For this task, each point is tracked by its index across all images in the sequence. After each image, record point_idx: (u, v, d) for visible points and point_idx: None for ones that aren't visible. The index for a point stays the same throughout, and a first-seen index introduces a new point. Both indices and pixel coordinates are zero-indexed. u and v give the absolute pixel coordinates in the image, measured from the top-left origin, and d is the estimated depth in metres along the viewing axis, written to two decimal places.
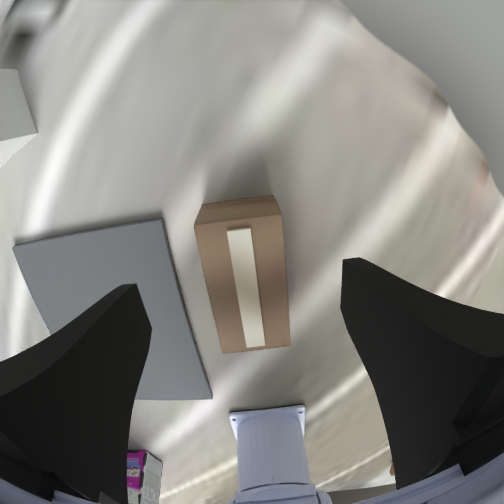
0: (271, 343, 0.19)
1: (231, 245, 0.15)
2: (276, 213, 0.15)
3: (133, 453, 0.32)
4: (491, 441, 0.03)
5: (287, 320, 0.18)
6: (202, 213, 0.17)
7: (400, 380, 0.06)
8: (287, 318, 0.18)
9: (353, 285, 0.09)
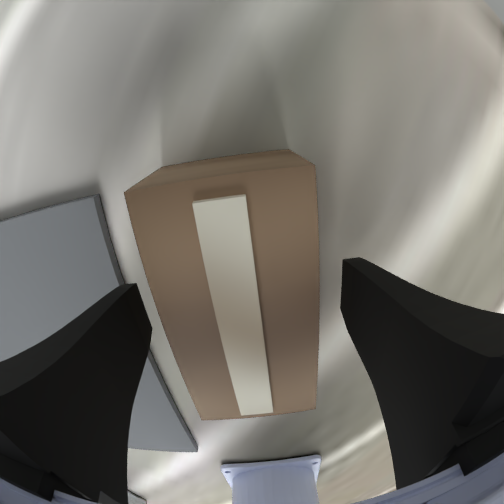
0: (284, 408, 0.10)
1: (204, 235, 0.07)
2: (302, 165, 0.07)
3: None
4: (491, 441, 0.03)
5: (314, 374, 0.09)
6: (153, 175, 0.08)
7: (400, 380, 0.06)
8: (314, 371, 0.09)
9: (353, 285, 0.09)
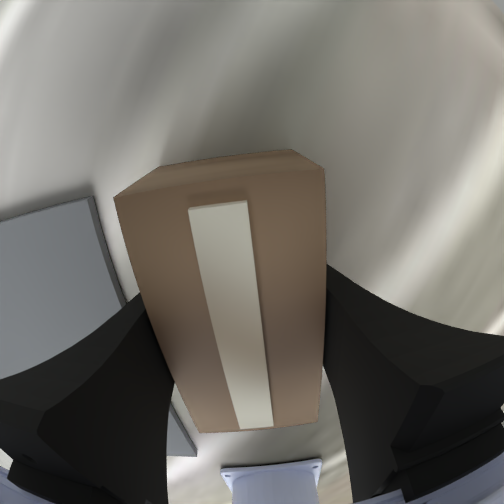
0: (285, 421, 0.10)
1: (201, 244, 0.06)
2: (310, 168, 0.06)
3: None
4: (438, 469, 0.03)
5: (317, 388, 0.09)
6: (147, 178, 0.08)
7: (351, 392, 0.06)
8: (317, 386, 0.09)
9: None
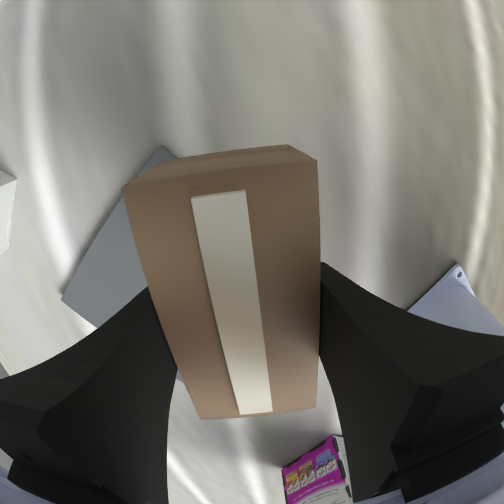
0: (284, 406, 0.10)
1: (203, 231, 0.07)
2: (303, 159, 0.07)
3: (321, 446, 0.29)
4: (438, 469, 0.03)
5: (314, 373, 0.09)
6: (151, 171, 0.08)
7: (351, 392, 0.06)
8: (314, 370, 0.09)
9: None
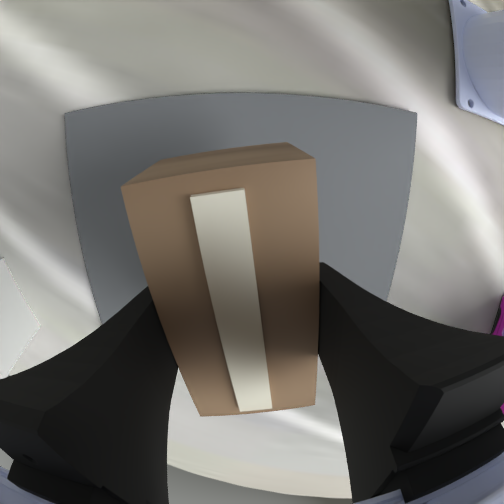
0: (283, 404, 0.10)
1: (202, 229, 0.07)
2: (302, 157, 0.07)
3: (500, 317, 0.19)
4: (438, 469, 0.03)
5: (313, 370, 0.09)
6: (151, 169, 0.08)
7: (351, 393, 0.06)
8: (314, 367, 0.09)
9: None
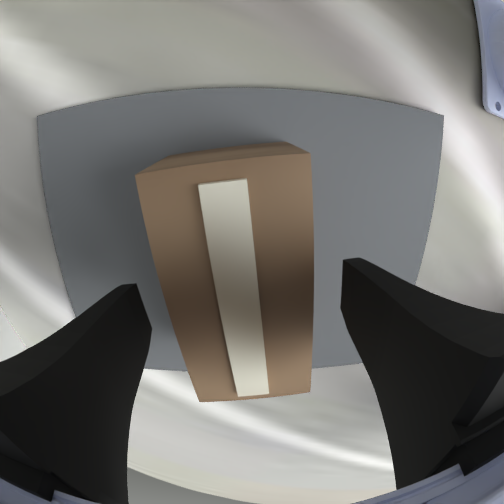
0: (280, 390, 0.11)
1: (208, 215, 0.07)
2: (299, 152, 0.07)
3: None
4: (491, 441, 0.03)
5: (309, 355, 0.10)
6: (161, 162, 0.09)
7: (400, 380, 0.06)
8: (309, 352, 0.10)
9: (353, 285, 0.09)
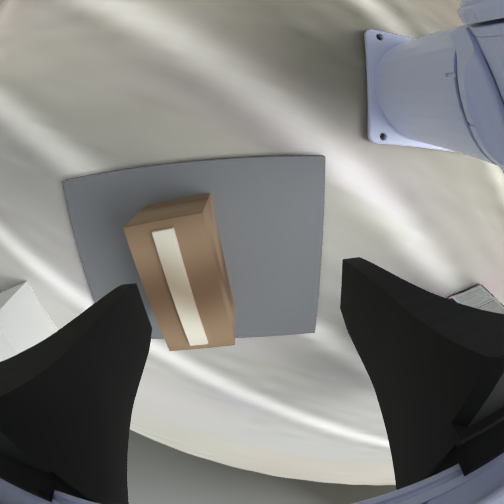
0: (215, 342, 0.19)
1: (158, 245, 0.15)
2: (198, 212, 0.15)
3: None
4: (491, 441, 0.03)
5: (226, 319, 0.18)
6: (137, 215, 0.17)
7: (400, 380, 0.06)
8: (225, 317, 0.18)
9: (353, 285, 0.09)
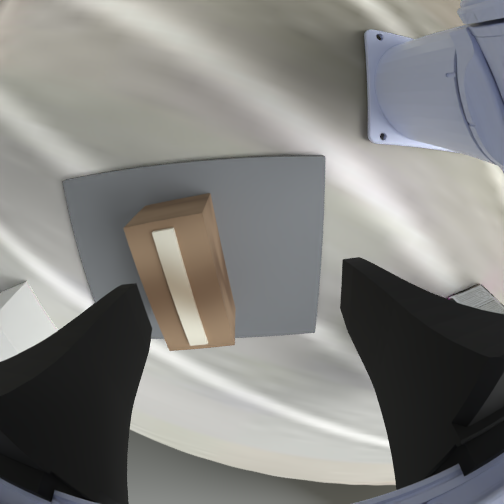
0: (215, 342, 0.19)
1: (158, 245, 0.15)
2: (198, 212, 0.15)
3: None
4: (491, 441, 0.03)
5: (226, 319, 0.18)
6: (137, 215, 0.17)
7: (400, 380, 0.06)
8: (225, 317, 0.18)
9: (353, 285, 0.09)
